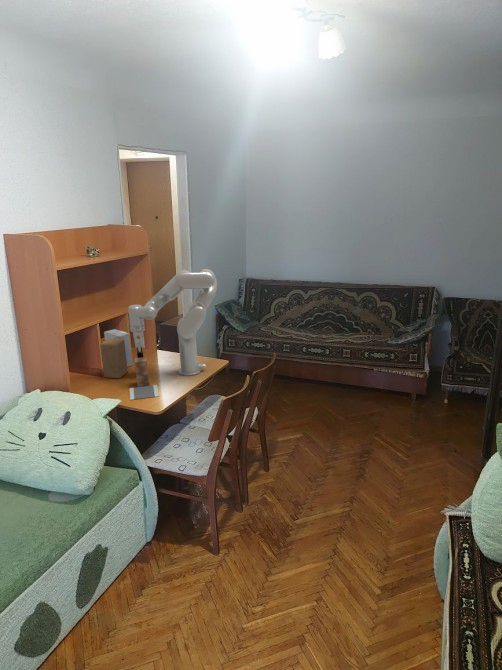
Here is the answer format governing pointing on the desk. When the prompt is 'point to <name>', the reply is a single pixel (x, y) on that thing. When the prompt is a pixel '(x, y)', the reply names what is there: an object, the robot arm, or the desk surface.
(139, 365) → the walnut block
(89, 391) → the desk surface
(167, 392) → the desk surface
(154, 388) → the mat
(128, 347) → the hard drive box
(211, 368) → the desk surface
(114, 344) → the wooden block
